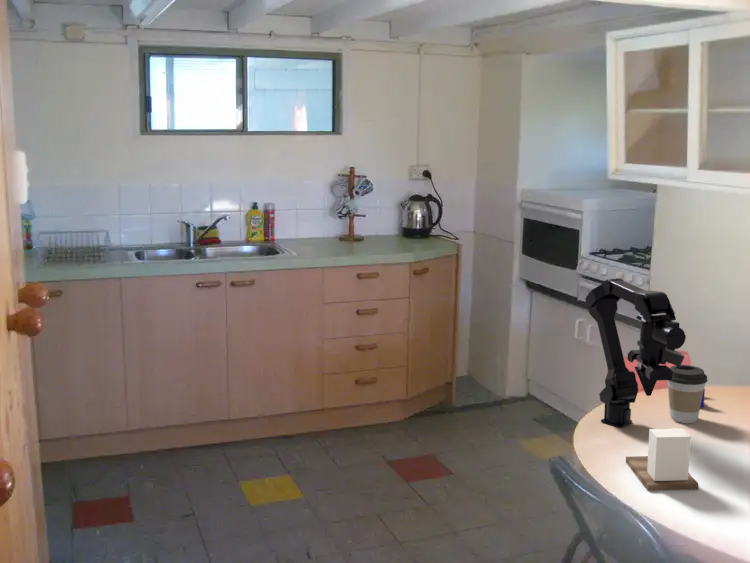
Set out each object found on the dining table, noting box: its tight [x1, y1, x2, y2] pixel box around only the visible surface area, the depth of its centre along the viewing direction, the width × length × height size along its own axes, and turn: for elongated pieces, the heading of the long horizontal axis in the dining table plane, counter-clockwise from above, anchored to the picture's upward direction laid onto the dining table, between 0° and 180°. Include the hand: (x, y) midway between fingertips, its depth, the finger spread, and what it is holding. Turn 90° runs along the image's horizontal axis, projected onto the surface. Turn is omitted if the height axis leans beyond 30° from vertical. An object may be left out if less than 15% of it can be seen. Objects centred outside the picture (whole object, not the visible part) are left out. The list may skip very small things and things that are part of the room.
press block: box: [647, 428, 692, 481], centre depth 194 cm, size 6×8×11 cm
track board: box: [625, 455, 699, 492], centre depth 199 cm, size 16×12×2 cm
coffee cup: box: [667, 364, 708, 424], centre depth 233 cm, size 11×11×15 cm
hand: (648, 395), depth 217 cm, fingers closed
